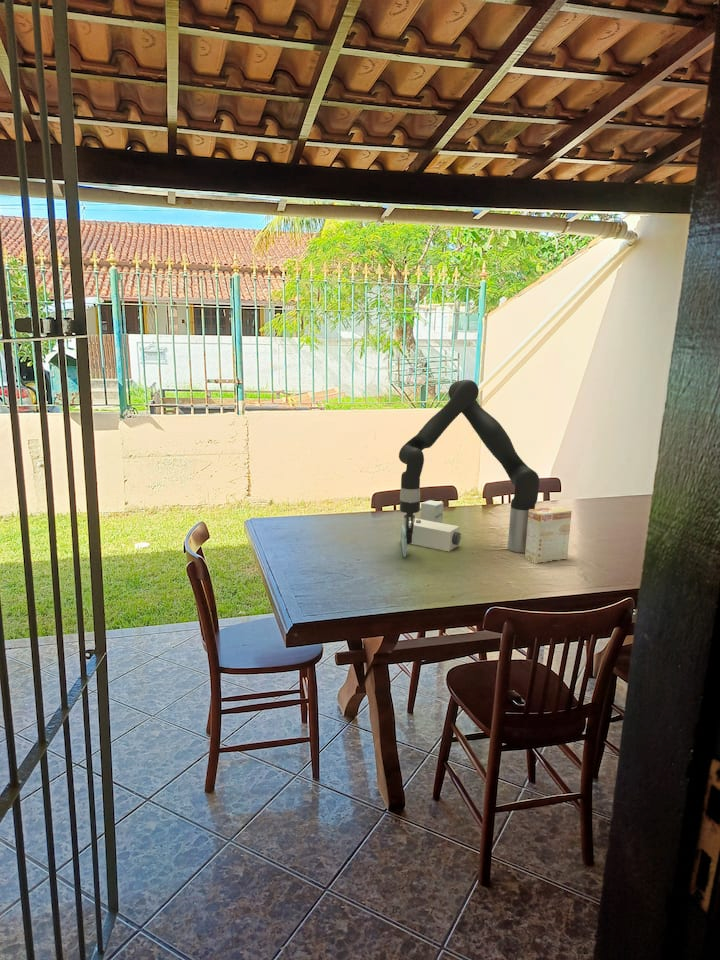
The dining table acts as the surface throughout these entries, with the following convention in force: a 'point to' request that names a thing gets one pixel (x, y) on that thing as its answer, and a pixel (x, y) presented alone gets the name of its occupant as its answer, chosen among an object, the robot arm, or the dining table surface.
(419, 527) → the camera housing
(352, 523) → the dining table surface
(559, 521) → the coffeecake box
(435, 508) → the supplement box
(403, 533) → the door
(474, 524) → the dining table surface
